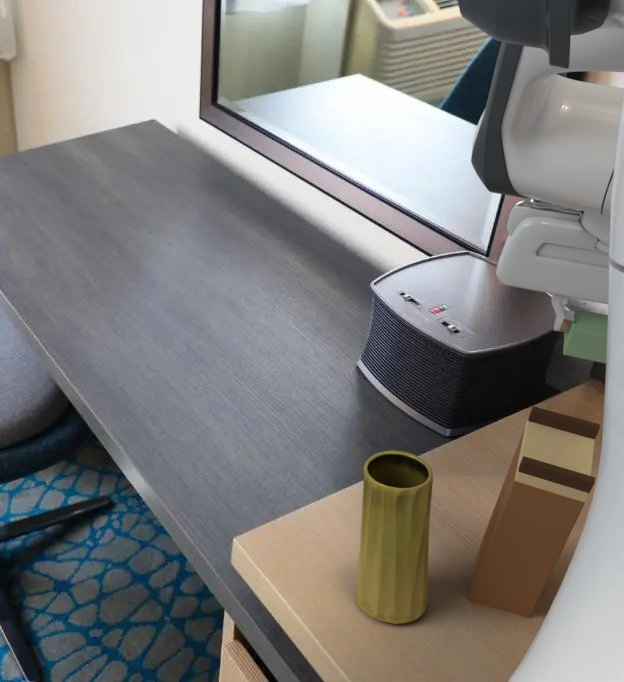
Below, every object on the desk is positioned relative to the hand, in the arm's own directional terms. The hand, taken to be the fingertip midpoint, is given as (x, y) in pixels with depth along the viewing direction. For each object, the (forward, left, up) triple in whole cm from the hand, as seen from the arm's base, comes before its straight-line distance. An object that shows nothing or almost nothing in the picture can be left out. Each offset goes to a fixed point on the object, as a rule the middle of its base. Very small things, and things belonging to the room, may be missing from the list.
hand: (591, 335), depth 79 cm
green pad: (0, 0, -2) cm, 2 cm away
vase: (-11, +30, -12) cm, 35 cm away
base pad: (-14, +20, -12) cm, 28 cm away
